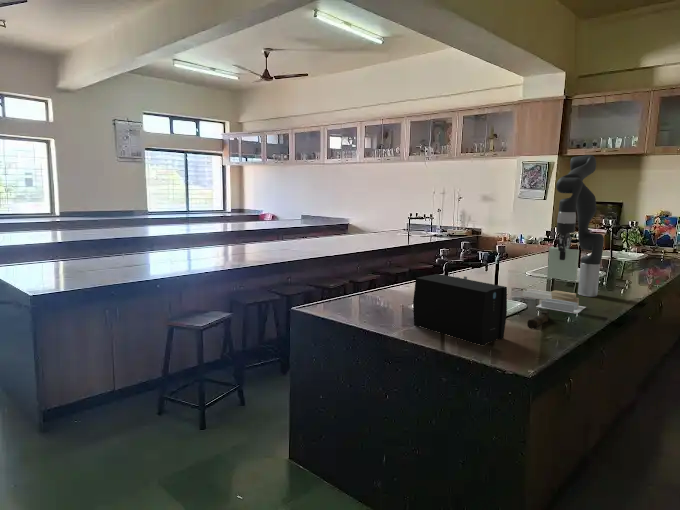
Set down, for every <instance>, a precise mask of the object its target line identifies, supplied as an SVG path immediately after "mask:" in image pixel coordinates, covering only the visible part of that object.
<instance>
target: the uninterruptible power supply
mask: <svg viewBox="0 0 680 510" xmlns="http://www.w3.org/2000/svg"><path fill="white" fill-rule="evenodd" d="M457 277H458V276H451V275H446V274H441V273H440V274H439V273H435V274H429V275H424V276H419V277H418V276H417V277H415V281H414V282H415V283H414V292H413V299H412V300H413V301H412V308H413V309H412V310H413V311H412V313H413V326H415V325H417V326H416V327H418V326H421V327H424V328H427V329H426V330H428V329H430V330H429V331H431V330H433V331H432V332H434V331H437V332H440V333H439V334H441V333H443V334H442V335H444V334H447V335H450V336H453V337H452V338H454V337H456V338H455V339H457V338H460V339H463V340H462V341H464V340H466V341H465V342H467V341H469V342H468V343H470V342H472V343H471V344H473V343H476V344H475V345H477V344H480V345H485V344H486V343H487V344H489V343H488V342H490V343H492V342H495V341H497V340H496V339H498V340H503V339H504V336H505V328H506V323H507V314H508V313H507V312H508V286H505V285H504V286H503V285H499V284H494V283H493V284H492V283H488V282H482V281H477V280H472V279H468V278H467V279H463V278H461V277H459V278H457ZM421 327H420V328H421ZM424 328H423V329H424ZM437 332H436V333H437ZM447 335H446V336H447ZM450 336H449V337H450ZM502 338H503V339H502ZM460 339H459V340H460ZM494 340H495V341H494ZM491 341H492V342H491ZM487 344H486V345H487ZM480 345H479V346H480ZM486 345H485V346H486Z"/></svg>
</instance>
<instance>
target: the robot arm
mask: <svg viewBox="0 0 680 510" xmlns="http://www.w3.org/2000/svg"><path fill="white" fill-rule="evenodd" d="M569 161H570V162H569V163H570V164H569V167H570V168H569V169H570V171H568V173H567V174H565V175H563V176H561V177H560V178H558V180H557V182H556V184H555V189H556V191H557V192H558V193H561V194H571V196H570V197H567V198H562V199H560V200H559V204H558V205H559V206H558V212H557V213H558V215H557V222H556V223H557V224H556V232H557V233H560V236H559V238H557V248H558V251H560V258H559V259H560V260H565V253H566V249H571V244H572V239H573V237H572V236H571V234H574V233H575V231H576V220H577V223H578V224H577V225H578V228H577V229H578V244H579V248H580V249H582V250H584V251H591V253H590V254H589V255H585V256H582V257H581V258H580V266H579V267H580V268H579V275H578V276H579V279H578V287H577V288H578V289H577V294H578V295H579V296H584V297H590V298H591V297H598V290H599V280H600V272H601V260H602V258H603V251H604V244H605V238H604V235H603V234H602V233H598V232H595V233H594V232H590V231H589V225H590V222H591V220H592V219H593V218H594V216H595V214H596V212H597V210H598V209H597V198H596V196H595V194H594V193H593V191H591V190H590V188H588V187H587V186H586V184H585V183H584V181H583V180H584V179H586V178H587V177H589V176H590V175H591V174H592V175H593V174H594V173H595V171H596V169H597V168H596V167H597V159H596V157H595V156H594V155H593V154H585V155H578V156H572V157H571V159H570V160H569Z"/></svg>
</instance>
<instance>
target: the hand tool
mask: <svg viewBox="0 0 680 510" xmlns="http://www.w3.org/2000/svg"><path fill="white" fill-rule="evenodd" d="M549 318H550V311H549V309H548V310H547V309H545V310H543V311H541V312H540V314H538V315H537V316H536V317H533V318H531V319H527V325H526V326H527V327H529V329H532V328H534V329H537V328H538V326H540V325H542V324H544V323H548V322H549Z"/></svg>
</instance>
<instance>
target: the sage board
mask: <svg viewBox="0 0 680 510" xmlns="http://www.w3.org/2000/svg"><path fill="white" fill-rule="evenodd" d="M548 250H549V251H548V262H547V264H548V265H547V274H546V275H547V276H546V278H547V279H549V278H550V279H557V280H564V281H565V280H566V281H572V282H575V281H578V268H579V259H580V258H579V256H580V249H576V248H574V249H572V248H570V249H566V253H565V260H560V259H559V258H560V251H558V247H553V246H552V247H549V249H548Z"/></svg>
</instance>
